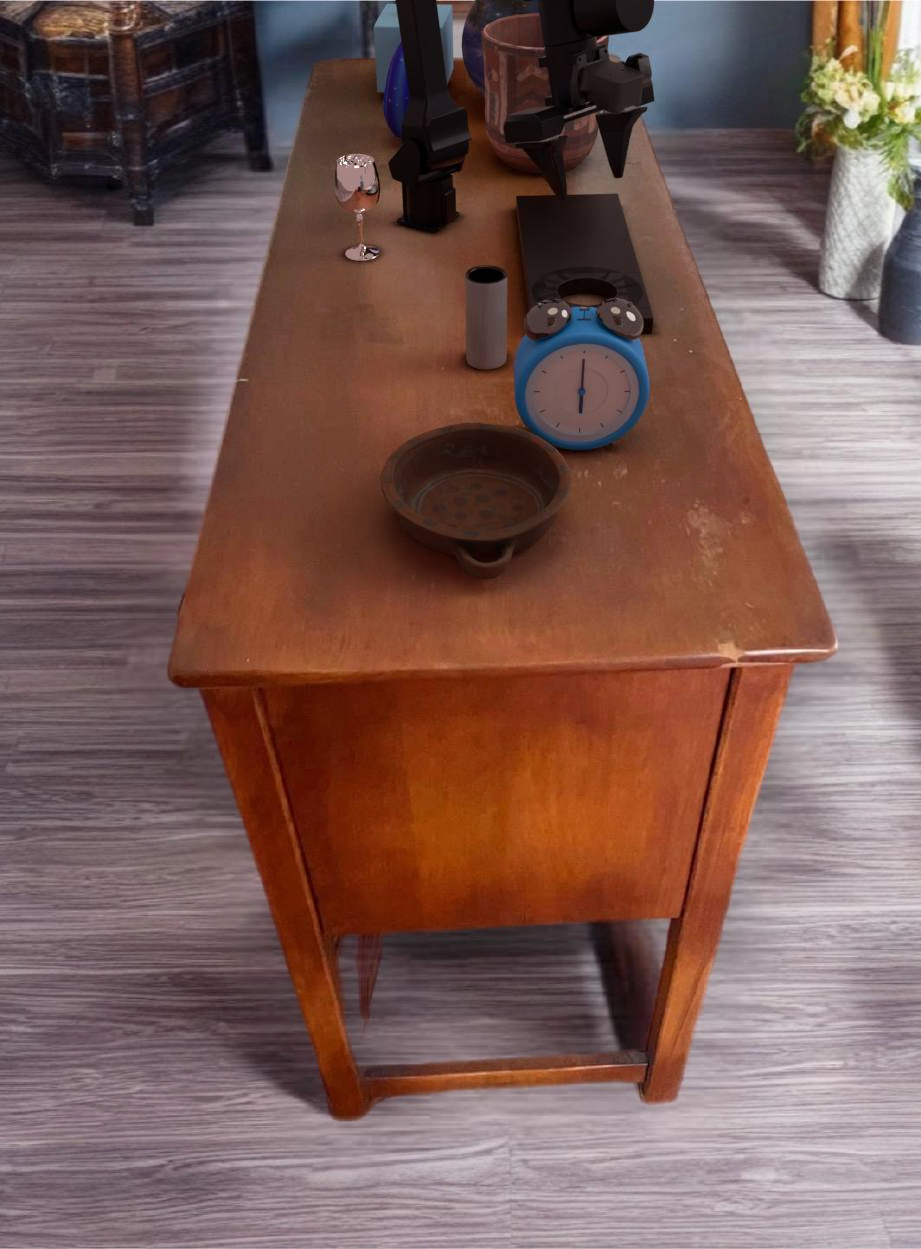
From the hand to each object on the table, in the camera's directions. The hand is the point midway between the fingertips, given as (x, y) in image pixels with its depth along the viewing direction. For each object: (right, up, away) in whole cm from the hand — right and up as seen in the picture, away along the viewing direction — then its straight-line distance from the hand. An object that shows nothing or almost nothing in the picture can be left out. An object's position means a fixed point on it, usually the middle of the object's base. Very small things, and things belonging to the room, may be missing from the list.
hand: (591, 188), depth 137 cm
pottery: (-3, +20, +42) cm, 46 cm away
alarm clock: (-3, -31, -15) cm, 35 cm away
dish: (-14, -40, -25) cm, 49 cm away
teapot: (-22, +42, +67) cm, 82 cm away
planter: (-12, -21, -3) cm, 24 cm away
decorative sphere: (-5, +34, +58) cm, 67 cm away
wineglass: (-28, -2, +18) cm, 33 cm away
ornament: (-22, +25, +49) cm, 59 cm away
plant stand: (0, -5, +14) cm, 15 cm away
